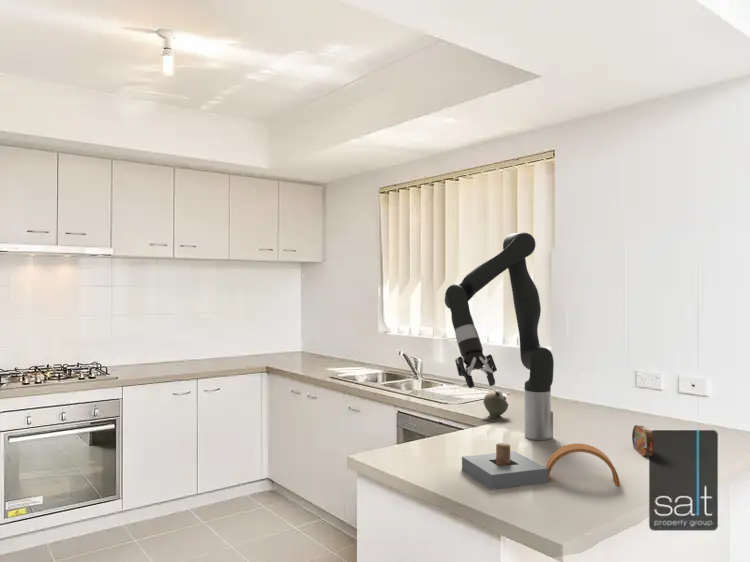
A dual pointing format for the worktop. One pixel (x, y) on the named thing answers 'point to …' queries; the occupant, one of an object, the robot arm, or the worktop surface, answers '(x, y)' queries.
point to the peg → (502, 454)
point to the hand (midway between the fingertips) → (482, 386)
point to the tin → (643, 440)
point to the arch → (581, 448)
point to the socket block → (504, 470)
